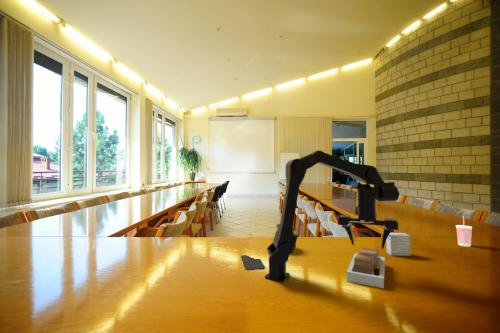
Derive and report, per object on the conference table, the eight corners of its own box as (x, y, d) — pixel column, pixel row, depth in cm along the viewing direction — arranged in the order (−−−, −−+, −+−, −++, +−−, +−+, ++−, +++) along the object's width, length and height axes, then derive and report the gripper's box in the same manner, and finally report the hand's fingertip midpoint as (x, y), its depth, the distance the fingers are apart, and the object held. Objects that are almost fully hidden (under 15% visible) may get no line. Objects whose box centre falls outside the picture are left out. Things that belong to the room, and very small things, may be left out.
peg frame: (383, 288, 75) (383, 278, 75) (346, 281, 80) (346, 271, 80) (384, 265, 94) (384, 257, 94) (354, 260, 99) (354, 253, 99)
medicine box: (405, 253, 108) (405, 232, 108) (411, 256, 104) (410, 235, 104) (386, 252, 109) (385, 232, 109) (391, 256, 104) (390, 235, 105)
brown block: (371, 275, 79) (370, 261, 79) (354, 272, 82) (354, 258, 82) (378, 262, 92) (378, 249, 92) (363, 259, 94) (363, 247, 95)
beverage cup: (453, 244, 121) (452, 215, 122) (460, 242, 124) (459, 214, 124) (468, 247, 116) (467, 217, 116) (475, 246, 118) (474, 216, 119)
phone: (245, 269, 89) (240, 255, 104) (245, 271, 89) (240, 257, 104) (265, 267, 91) (257, 254, 105) (265, 270, 91) (257, 256, 105)
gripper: (397, 200, 90) (398, 244, 90) (342, 198, 99) (342, 238, 99) (397, 204, 80) (399, 253, 80) (337, 201, 89) (337, 245, 89)
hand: (367, 246), depth 87 cm, fingers open, 9 cm apart
